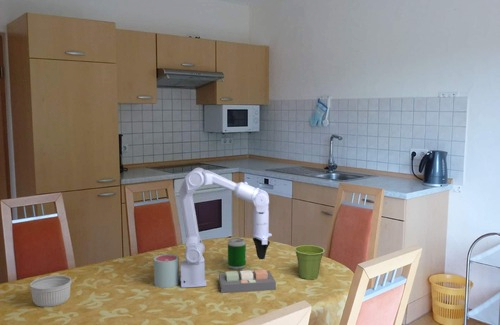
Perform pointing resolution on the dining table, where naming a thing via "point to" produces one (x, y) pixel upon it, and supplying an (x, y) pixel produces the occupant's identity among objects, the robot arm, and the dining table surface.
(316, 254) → the plant pot
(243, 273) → the cream key
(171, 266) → the mug
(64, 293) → the ramekin
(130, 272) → the dining table surface
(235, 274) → the sage key
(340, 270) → the dining table surface
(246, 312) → the dining table surface
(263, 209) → the robot arm
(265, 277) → the terracotta key
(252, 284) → the keypad
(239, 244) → the soda can
